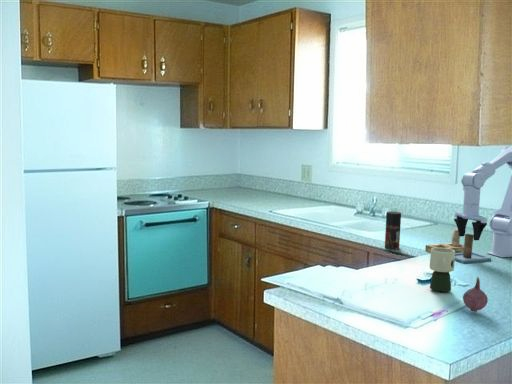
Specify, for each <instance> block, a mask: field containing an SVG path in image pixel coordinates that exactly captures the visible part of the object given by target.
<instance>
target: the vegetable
mask: <svg viewBox="0 0 512 384" xmlns="http://www.w3.org/2000/svg"><path fill="white" fill-rule="evenodd" d="M475 278H476V282H475V285H474V286H473V287H471V288H470V289H468V290H466V291H465V292H464V293H463V296H462V301H463V304H464V306H466V307H467V308H468V309H470V311H471V312H473V313H477V312H478V311H481V310H483V309H484V308H485V307H486V306H487V304H488V296H487V294H486V293H485V291H483V290H482V289H481V285H480V284H481V283H480V281H481V280H480V277H479V276H476V277H475Z"/></svg>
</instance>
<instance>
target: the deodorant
mask: <svg viewBox="0 0 512 384" xmlns="http://www.w3.org/2000/svg"><path fill="white" fill-rule="evenodd" d="M401 220H402V212H399V211H387V212H386V217H385V235H384V236H385V237H384V248H385V249H388V250H400V243H401V242H400V241H401V240H400V239H401V237H400V236H401V222H402V221H401Z"/></svg>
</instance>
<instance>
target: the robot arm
mask: <svg viewBox="0 0 512 384" xmlns="http://www.w3.org/2000/svg"><path fill="white" fill-rule="evenodd" d="M504 165H507V167H508V168H510V169H511V170H512V146H510V145H509V146H508V145H507V146H505V147H504V148H503V149H501V151H500V153H499V154H498V155H496V157H494V159H492V160H491V161H490V162H489V161H488V162H487V161H485V162H482V163H481V165H479V166H478V167H476V168H474V169H472V171H469V172H465V173H464V175H463V176H462V179H461V180H460V182H461V184H462V186H463V187H462V189H463V190H462V191H463V204H462V205H463V206H462V212H461V211H455V212H454V217H455V218H454V219H453V221H454V223H455V224H456V229H458V232H459V236H460V238H462V237H465V234H466V228H467V225H468V222H469V221H472V222H471V225H472V228H473V234H472V235H473V241H480V238H481V236H482V234H483V231H484V229H485V228H486V226H487V225H488V218H487V217H485V216H482V215H480V200H481V188H483V187H484V185H485V183H486V181H487V180H489V179H490V178H491V177H493V176H494V175H495V173H496V171H497V169H499V168H500V167H502V166H504ZM489 227H490V230H491V232H492V233H493V235H492V247H491V251H487V252H486V254H489V255H493V256H496V257H498V258H499V257H500V258H509V257H511V258H512V175H511V176H510V179H509V183H508V186H507V188H506V190H505V195H504V197H503V201H502V204H501V206H500V208H498V209H497V210H495V211H494V212H493V215H492V216H491V218H490V220H489Z"/></svg>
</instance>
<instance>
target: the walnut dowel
mask: <svg viewBox="0 0 512 384" xmlns="http://www.w3.org/2000/svg"><path fill="white" fill-rule="evenodd" d="M473 235H474V234H472V233H465V236H464V244H463V245H464V253H463V257H464V258H471V256H472V252H473V245H474V243H473V242H474V238H473Z"/></svg>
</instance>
